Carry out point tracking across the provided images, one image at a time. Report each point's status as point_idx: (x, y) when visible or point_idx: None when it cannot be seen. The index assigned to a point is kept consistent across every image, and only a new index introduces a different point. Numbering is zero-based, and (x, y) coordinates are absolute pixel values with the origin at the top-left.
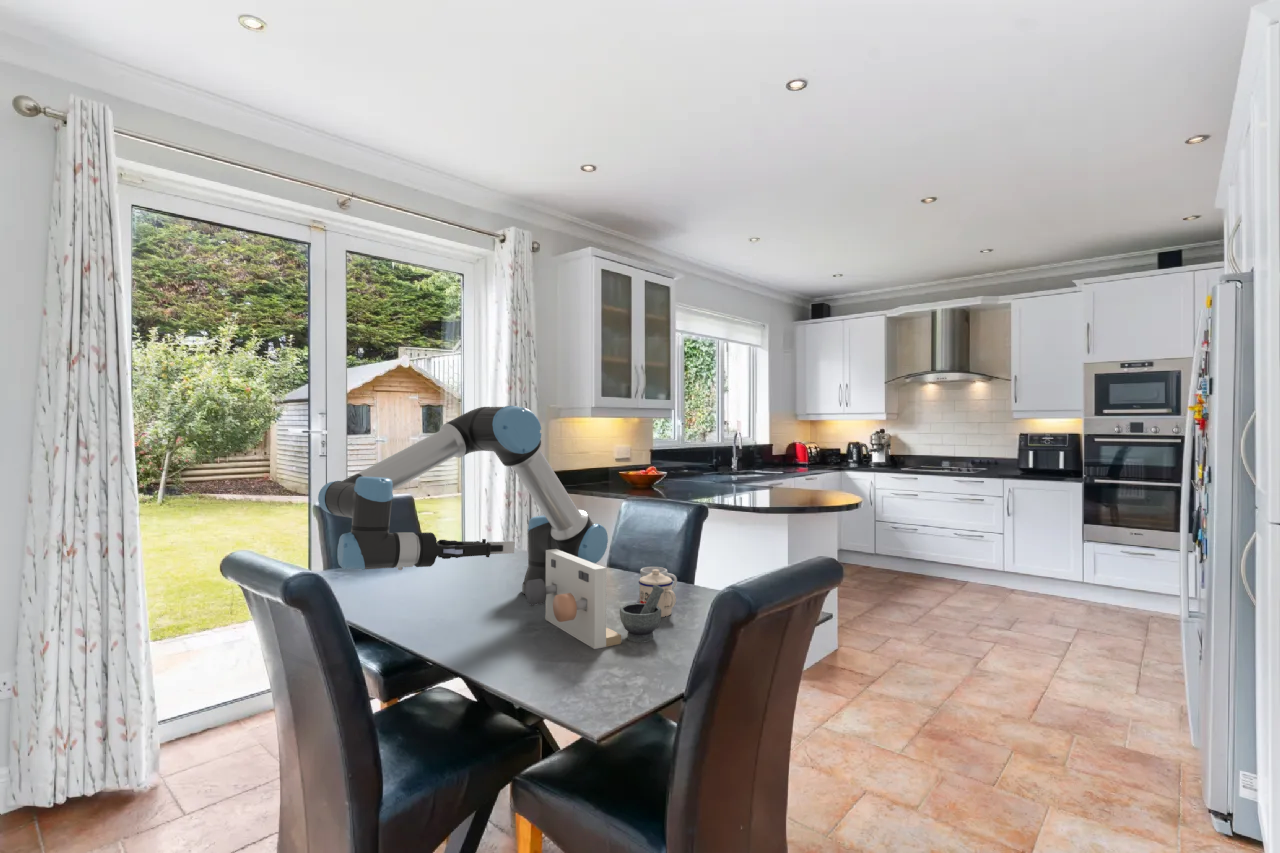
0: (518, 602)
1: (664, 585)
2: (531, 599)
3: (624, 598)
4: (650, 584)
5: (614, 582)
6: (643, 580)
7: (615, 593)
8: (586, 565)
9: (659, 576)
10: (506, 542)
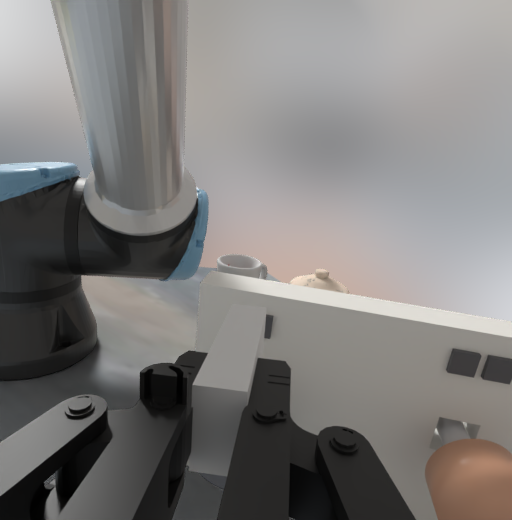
0: (4, 418)
1: None
2: None
3: None
4: None
5: (126, 284)
6: None
7: (172, 310)
8: (494, 332)
9: (334, 281)
10: (261, 328)
